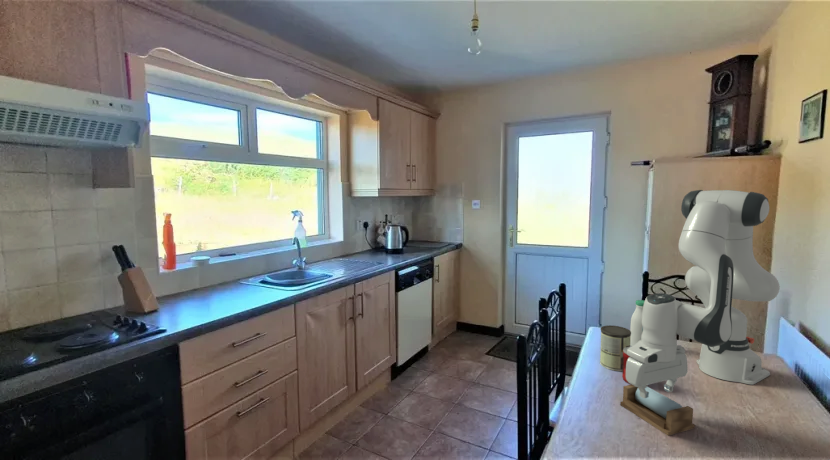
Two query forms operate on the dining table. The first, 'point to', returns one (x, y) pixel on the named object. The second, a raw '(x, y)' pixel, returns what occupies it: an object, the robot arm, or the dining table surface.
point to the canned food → (625, 358)
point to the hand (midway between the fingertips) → (656, 394)
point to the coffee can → (613, 346)
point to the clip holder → (671, 425)
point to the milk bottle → (636, 323)
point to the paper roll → (657, 402)
